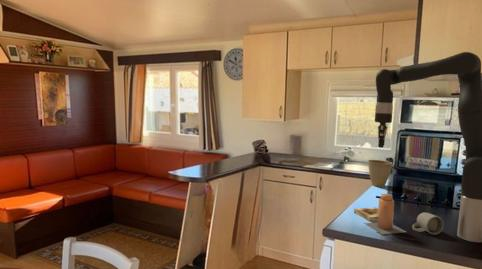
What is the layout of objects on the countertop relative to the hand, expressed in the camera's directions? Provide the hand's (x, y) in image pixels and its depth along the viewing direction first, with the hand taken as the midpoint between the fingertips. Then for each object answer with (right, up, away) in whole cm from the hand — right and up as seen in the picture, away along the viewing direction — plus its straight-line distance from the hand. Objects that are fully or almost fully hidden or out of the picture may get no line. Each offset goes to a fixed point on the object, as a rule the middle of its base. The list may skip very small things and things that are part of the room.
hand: (381, 146), depth 160 cm
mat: (-5, -35, -16) cm, 39 cm away
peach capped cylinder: (-5, -34, -16) cm, 38 cm away
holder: (-5, -33, -2) cm, 34 cm away
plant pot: (+24, -28, +61) cm, 71 cm away
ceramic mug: (+12, -36, -17) cm, 41 cm away
